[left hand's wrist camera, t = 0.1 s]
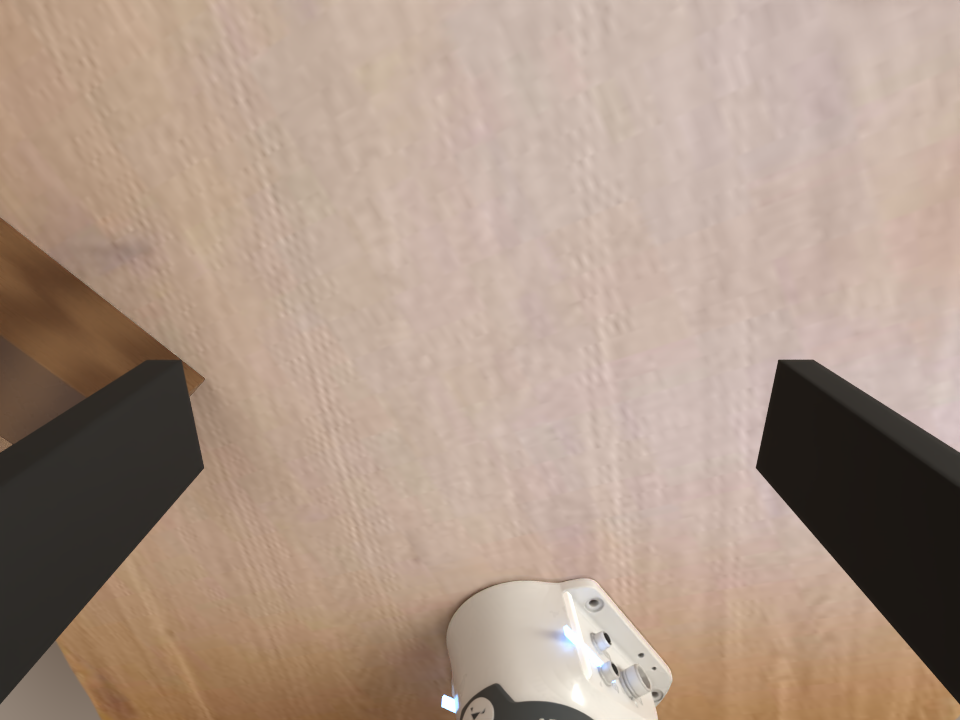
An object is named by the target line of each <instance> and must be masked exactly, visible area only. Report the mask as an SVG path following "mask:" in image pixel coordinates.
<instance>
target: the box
mask: <svg viewBox="0 0 960 720" xmlns="http://www.w3.org/2000/svg"><path fill="white" fill-rule="evenodd" d="M146 360H181V359H179V358H178V357H177V356H175V355H174V354H173V353H172V352H170V351H169V350H168V349H167V348H165V347H164V346H163V345H161V344H160V343H159V342H158V341H156V340H155V339H154V338H153V337H151V336H150V335H149V334H147V333H146V332H145V331H144V330H142V329H141V328H140V327H139V326H137V325H136V324H135V323H133V322H132V321H131V320H130V319H128V318H127V317H126V316H125V315H123V314H122V313H121V312H119V311H118V310H117V309H116V308H114V307H113V306H112V305H111V304H109V303H108V302H107V301H105V300H104V299H103V298H102V297H100V296H99V295H98V294H97V293H95V292H94V291H93V290H91V289H90V288H89V287H88V286H86V285H85V284H84V283H83V282H81V281H80V280H79V279H77V278H76V277H75V276H74V275H72V274H71V273H70V272H69V271H67V270H66V269H65V268H63V267H62V266H61V265H60V264H58V263H57V262H56V261H55V260H53V259H52V258H51V257H49V256H48V255H47V254H46V253H44V252H43V251H42V250H41V249H39V248H38V247H37V246H35V245H34V244H33V243H32V242H30V241H29V240H28V239H27V238H25V237H24V236H23V235H21V234H20V233H19V232H18V231H16V230H15V229H14V228H13V227H11V226H10V225H9V224H7V223H6V222H5V221H4V220H2V219H1V218H0V436H1V437H3V438H4V439H6V440H7V441H9V442H10V443H12V444H15V443H16V442H18V441H20V440H21V439H23V438H24V437H26V436H27V435H29V434H31V433H32V432H34V431H35V430H37V429H38V428H40V427H42V426H43V425H45V424H46V423H48V422H49V421H51V420H53V419H54V418H56V417H57V416H59V415H60V414H62V413H64V412H65V411H67V410H68V409H70V408H72V407H73V406H75V405H76V404H78V403H79V402H81V401H83V400H84V399H86V398H87V397H89V396H90V395H92V394H94V393H95V392H97V391H98V390H100V389H101V388H103V387H105V386H106V385H108V384H109V383H111V382H112V381H114V380H116V379H117V378H119V377H120V376H122V375H124V374H125V373H127V372H128V371H130V370H131V369H133V368H135V367H136V366H138V365H139V364H141V363H142V362H144V361H146ZM182 364H183V369H184V374H185V379H186V383H187V388H188V393H189V397H190V396H191V394H192V393H193V392H194V391H195V390H196V389H197V388H198V387H199V386H200V384H201V383H202V382H203V381H204V380H205V378H203V377H202V376H201V375H200V374H198V373H197V372H196V371H195V370H193V369H192V368H191V367H189V366H188V365H187V364H186V363H184V362H183V361H182Z"/></svg>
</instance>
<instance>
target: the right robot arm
mask: <svg viewBox="0 0 960 720" xmlns="http://www.w3.org/2000/svg"><path fill="white" fill-rule="evenodd" d="M591 600H594V601H591ZM446 645H447V650H448V655H449V659H450V664H451V670H452V679H451V690H452V697H453V698H454V699H455V700H454V699H452V698H450V697H448V696H446V695H444V696H443V697H442V707H444V708H446V709H448V710H450V711H452V712H455V713H456V720H658V716H657V712H656V708H655V707H656V706H657V705H658V704H659V703H660V702H661V700H662V699H663V698H664V696H665V695H666V693H667V692H668V690H669V688H670V686H671V683H672V674H671V670H670V669H669V667H668V666H667V664H666V663H665V662H664V661H663V660H662V658H661V657H660V656H659V655H658V654H657V653H656V651H655V650H654V649H653V648H652V647H651V645H650V644H649V643H648V642H647V641H646V640H645V638H644V637H643V636H642V635H641V634H640V633H639V631H638V630H637V629H636V628H635V627H634V625H633V624H632V623H631V622H630V621H629V620H628V618H627V617H626V616H625V615H624V614H623V612H622V611H621V610H620V609H619V608H618V607H617V605H616V604H615V603H614V602H613V601H612V600H611V598H610V597H609V596H608V595H607V594H606V592H605V591H604V590H603V589H602V588H601V587H600V585H599V584H598V583H597V582H596V581H594V580H592V579H589V578H580V579H574V580H569V581H564V582H560V583H552V582H542V581H531V580H522V581H511V582H505V583H501V584H497V585H494V586H491V587H489V588H486V589H484V590H482V591H480V592H478V593H476V594H475V595H473V596H472V597H470V598H469V599H468V600H467V601H465V602H464V603H463V604H462V605H461V606H460V607H459V608H458V610H457V611H456V612H455V614H454V615H453V617H452V619H451V621H450V623H449V626H448V629H447V635H446Z"/></svg>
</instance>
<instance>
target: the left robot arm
mask: <svg viewBox="0 0 960 720" xmlns="http://www.w3.org/2000/svg"><path fill="white" fill-rule="evenodd" d="M203 469H204V465H203V460H202V455H201V450H200V446H199V441H198V436H197V431H196V427H195V422H194V417H193V412H192V407H191V403H190V398H189V393H188V388H187V383H186V379H185V374H184V369H183V364H182V360H146V361H144V362H142V363H141V364H139V365H138V366H136V367H135V368H133V369H131V370H130V371H128V372H127V373H125V374H124V375H122V376H120V377H119V378H117V379H116V380H114V381H112V382H111V383H109V384H108V385H106V386H105V387H103V388H101V389H100V390H98V391H97V392H95V393H94V394H92V395H90V396H89V397H87V398H86V399H84V400H83V401H81V402H79V403H78V404H76V405H75V406H73V407H72V408H70V409H68V410H67V411H65V412H64V413H62V414H60V415H59V416H57V417H56V418H54V419H53V420H51V421H49V422H48V423H46V424H45V425H43V426H42V427H40V428H38V429H37V430H35V431H34V432H32V433H31V434H29V435H27V436H26V437H24V438H23V439H21V440H20V441H18V442H16V443H15V444H13V445H12V446H10V447H8V448H7V449H5V450H4V451H2V452H1V453H0V704H1V703H2V702H3V700H4V699H5V698H6V697H7V696H8V695H9V693H10V692H11V691H12V690H13V689H14V688H15V687H16V685H17V684H18V683H19V682H20V681H21V680H22V678H23V677H24V676H25V675H26V674H27V673H28V671H29V670H30V669H31V668H32V667H33V666H34V664H35V663H36V662H37V661H38V660H39V659H40V658H41V656H42V655H43V654H44V653H45V652H46V651H47V649H48V648H49V647H50V646H51V645H52V644H53V643H54V641H55V640H56V639H57V638H58V637H59V636H60V634H61V633H62V632H63V631H64V630H65V629H66V627H67V626H68V625H69V624H70V623H71V622H72V620H73V619H74V618H75V617H76V616H77V615H78V614H79V612H80V611H81V610H82V609H83V608H84V607H85V605H86V604H87V603H88V602H89V601H90V600H91V598H92V597H93V596H94V595H95V594H96V593H97V592H98V590H99V589H100V588H101V587H102V586H103V585H104V583H105V582H106V581H107V580H108V579H109V578H110V576H111V575H112V574H113V573H114V572H115V571H116V570H117V568H118V567H119V566H120V565H121V564H122V563H123V561H124V560H125V559H126V558H127V557H128V556H129V554H130V553H131V552H132V551H133V550H134V549H135V547H136V546H137V545H138V544H139V543H140V542H141V541H142V539H143V538H144V537H145V536H146V535H147V534H148V532H149V531H150V530H151V529H152V528H153V527H154V525H155V524H156V523H157V522H158V521H159V520H160V519H161V517H162V516H163V515H164V514H165V513H166V512H167V510H168V509H169V508H170V507H171V506H172V505H173V503H174V502H175V501H176V500H177V499H178V498H179V497H180V495H181V494H182V493H183V492H184V491H185V490H186V488H187V487H188V486H189V485H190V484H191V483H192V481H193V480H194V479H195V478H196V477H197V476H198V474H199V473H200V472H201V471H202V470H203ZM756 469H757V470H758V471H759V472H760V473H761V474H762V476H763V477H764V478H765V479H766V480H767V481H768V483H769V484H770V485H771V486H772V487H773V488H774V490H775V491H776V492H777V493H778V494H779V495H780V497H781V498H782V499H783V500H784V501H785V502H786V503H787V505H788V506H789V507H790V508H791V509H792V510H793V512H794V513H795V514H796V515H797V516H798V517H799V519H800V520H801V521H802V522H803V523H804V524H805V525H806V527H807V528H808V529H809V530H810V531H811V532H812V534H813V535H814V536H815V537H816V538H817V539H818V541H819V542H820V543H821V544H822V545H823V546H824V547H825V549H826V550H827V551H828V552H829V553H830V554H831V556H832V557H833V558H834V559H835V560H836V561H837V563H838V564H839V565H840V566H841V567H842V568H843V570H844V571H845V572H846V573H847V574H848V575H849V576H850V578H851V579H852V580H853V581H854V582H855V583H856V585H857V586H858V587H859V588H860V589H861V590H862V592H863V593H864V594H865V595H866V596H867V597H868V598H869V600H870V601H871V602H872V603H873V604H874V605H875V607H876V608H877V609H878V610H879V611H880V612H881V614H882V615H883V616H884V617H885V618H886V619H887V620H888V622H889V623H890V624H891V625H892V626H893V627H894V629H895V630H896V631H897V632H898V633H899V634H900V636H901V637H902V638H903V639H904V640H905V641H906V643H907V644H908V645H909V646H910V647H911V648H912V649H913V651H914V652H915V653H916V654H917V655H918V656H919V658H920V659H921V660H922V661H923V662H924V663H925V665H926V666H927V667H928V668H929V669H930V670H931V671H932V673H933V674H934V675H935V676H936V677H937V678H938V680H939V681H940V682H941V683H942V684H943V685H944V687H945V688H946V689H947V690H948V691H949V692H950V693H951V695H952V696H953V697H954V698H955V699H956V700H957V702H958V703H959V704H960V453H959V452H958V451H956V450H955V449H953V448H952V447H950V446H948V445H947V444H945V443H944V442H942V441H940V440H939V439H937V438H936V437H934V436H933V435H931V434H929V433H928V432H926V431H925V430H923V429H922V428H920V427H918V426H917V425H915V424H914V423H912V422H911V421H909V420H907V419H906V418H904V417H903V416H901V415H900V414H898V413H896V412H895V411H893V410H892V409H890V408H888V407H887V406H885V405H884V404H882V403H881V402H879V401H877V400H876V399H874V398H873V397H871V396H870V395H868V394H866V393H865V392H863V391H862V390H860V389H859V388H857V387H855V386H854V385H852V384H851V383H849V382H848V381H846V380H844V379H843V378H841V377H840V376H838V375H836V374H835V373H833V372H832V371H830V370H829V369H827V368H825V367H824V366H822V365H821V364H819V363H818V362H816V361H814V360H778V364H777V369H776V374H775V379H774V383H773V388H772V393H771V398H770V403H769V407H768V412H767V417H766V422H765V427H764V431H763V436H762V441H761V446H760V450H759V455H758V460H757V465H756Z"/></svg>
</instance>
